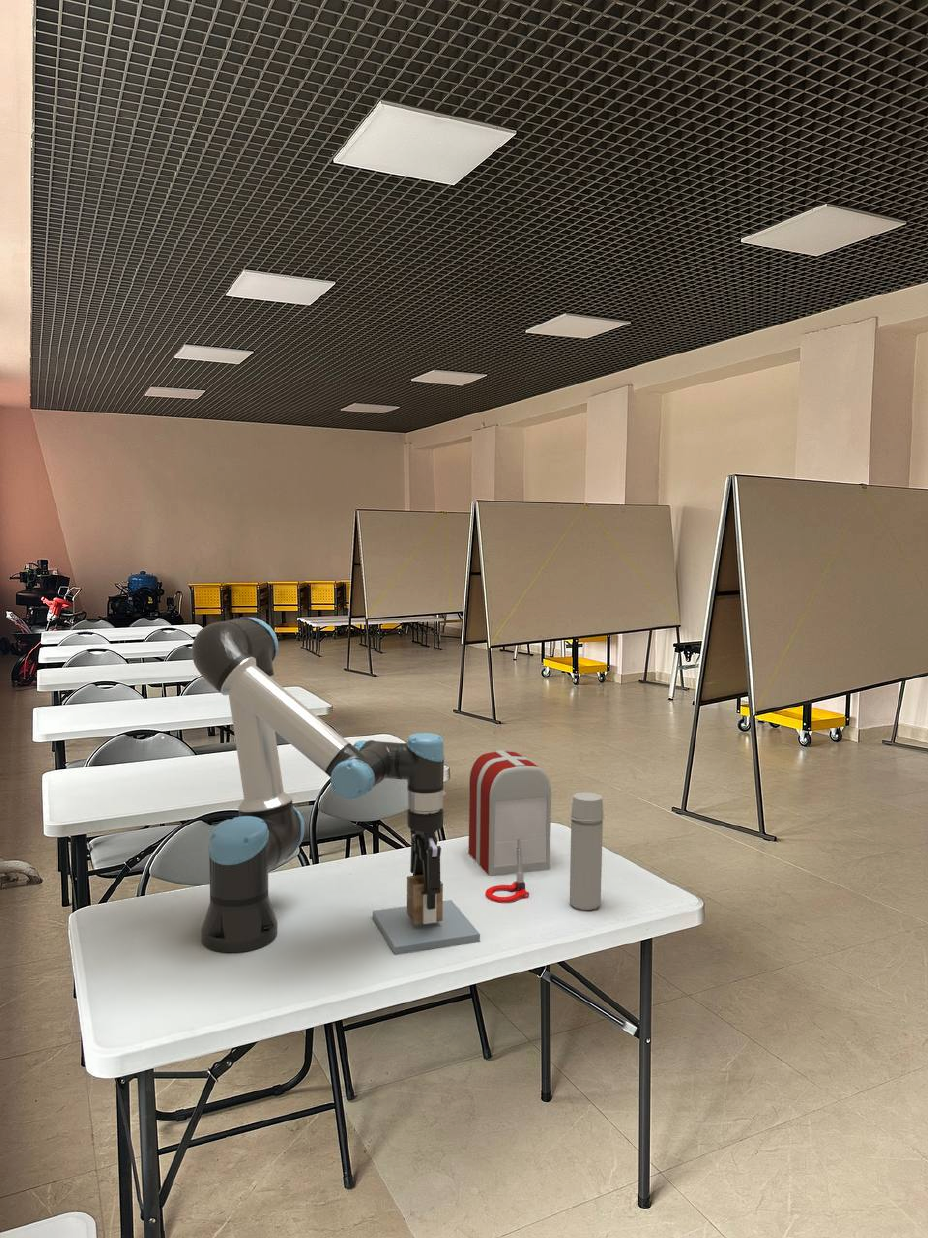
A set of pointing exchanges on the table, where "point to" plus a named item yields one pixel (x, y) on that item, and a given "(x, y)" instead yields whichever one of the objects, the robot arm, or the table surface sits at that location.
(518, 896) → the tow hook
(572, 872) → the water bottle
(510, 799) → the striped mailbox
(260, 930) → the robot arm
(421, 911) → the block
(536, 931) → the table surface
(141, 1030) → the table surface
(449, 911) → the pin plate
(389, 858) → the table surface
